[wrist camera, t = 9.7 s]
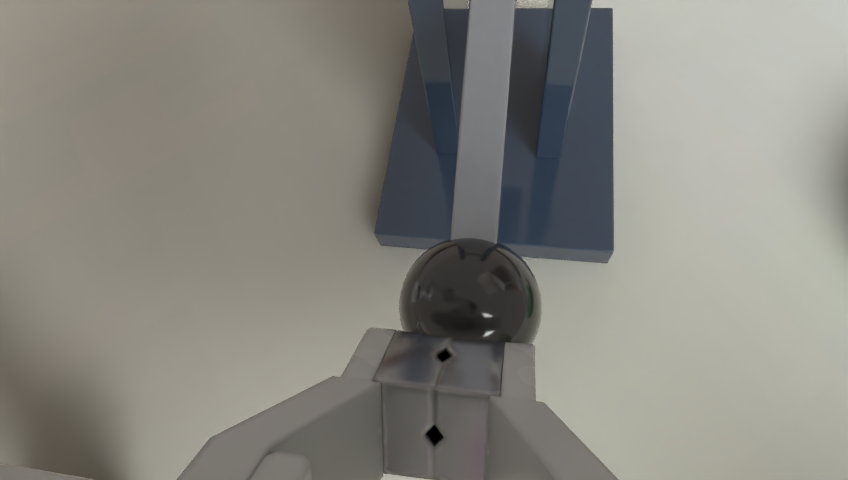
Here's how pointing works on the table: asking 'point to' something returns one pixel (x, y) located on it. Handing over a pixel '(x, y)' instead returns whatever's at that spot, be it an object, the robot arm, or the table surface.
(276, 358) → the table surface
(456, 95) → the flush bracket
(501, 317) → the flush lever
